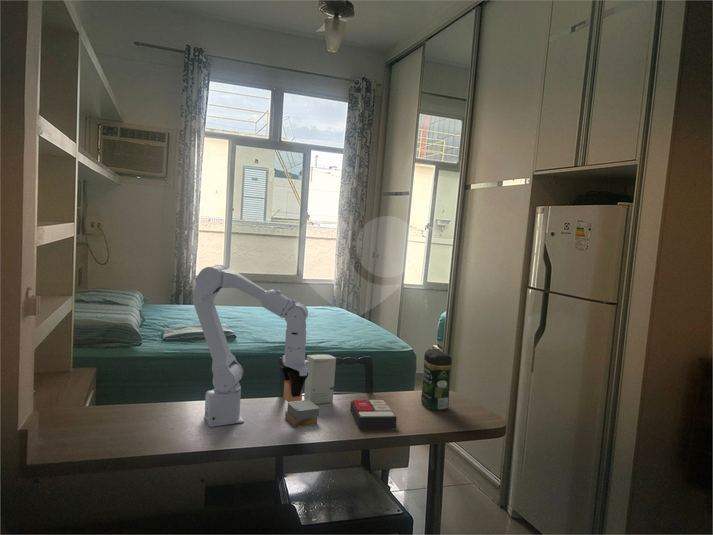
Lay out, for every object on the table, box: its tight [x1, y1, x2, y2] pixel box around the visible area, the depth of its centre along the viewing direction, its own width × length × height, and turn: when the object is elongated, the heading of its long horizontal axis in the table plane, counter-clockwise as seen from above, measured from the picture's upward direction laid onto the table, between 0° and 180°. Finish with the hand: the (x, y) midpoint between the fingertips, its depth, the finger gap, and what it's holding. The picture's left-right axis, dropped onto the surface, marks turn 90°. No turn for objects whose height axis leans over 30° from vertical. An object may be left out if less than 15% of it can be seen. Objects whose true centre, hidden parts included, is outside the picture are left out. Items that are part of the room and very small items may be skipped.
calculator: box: [349, 399, 397, 430], centre depth 142 cm, size 11×4×15 cm
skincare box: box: [303, 354, 337, 405], centre depth 154 cm, size 8×6×15 cm
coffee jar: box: [420, 348, 453, 412], centre depth 155 cm, size 10×8×19 cm
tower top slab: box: [286, 399, 321, 420], centre depth 137 cm, size 7×7×2 cm
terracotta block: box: [283, 379, 303, 403], centre depth 134 cm, size 4×4×5 cm
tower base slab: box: [284, 410, 318, 428], centre depth 137 cm, size 7×7×2 cm
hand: (293, 393), depth 134 cm, fingers closed on terracotta block, 4 cm apart
